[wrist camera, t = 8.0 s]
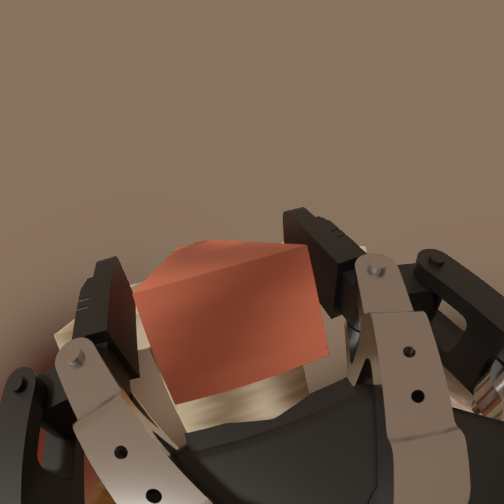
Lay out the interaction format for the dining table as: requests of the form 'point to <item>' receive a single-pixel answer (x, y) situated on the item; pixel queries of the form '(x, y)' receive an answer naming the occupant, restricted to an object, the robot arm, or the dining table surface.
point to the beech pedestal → (230, 402)
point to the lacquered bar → (230, 315)
